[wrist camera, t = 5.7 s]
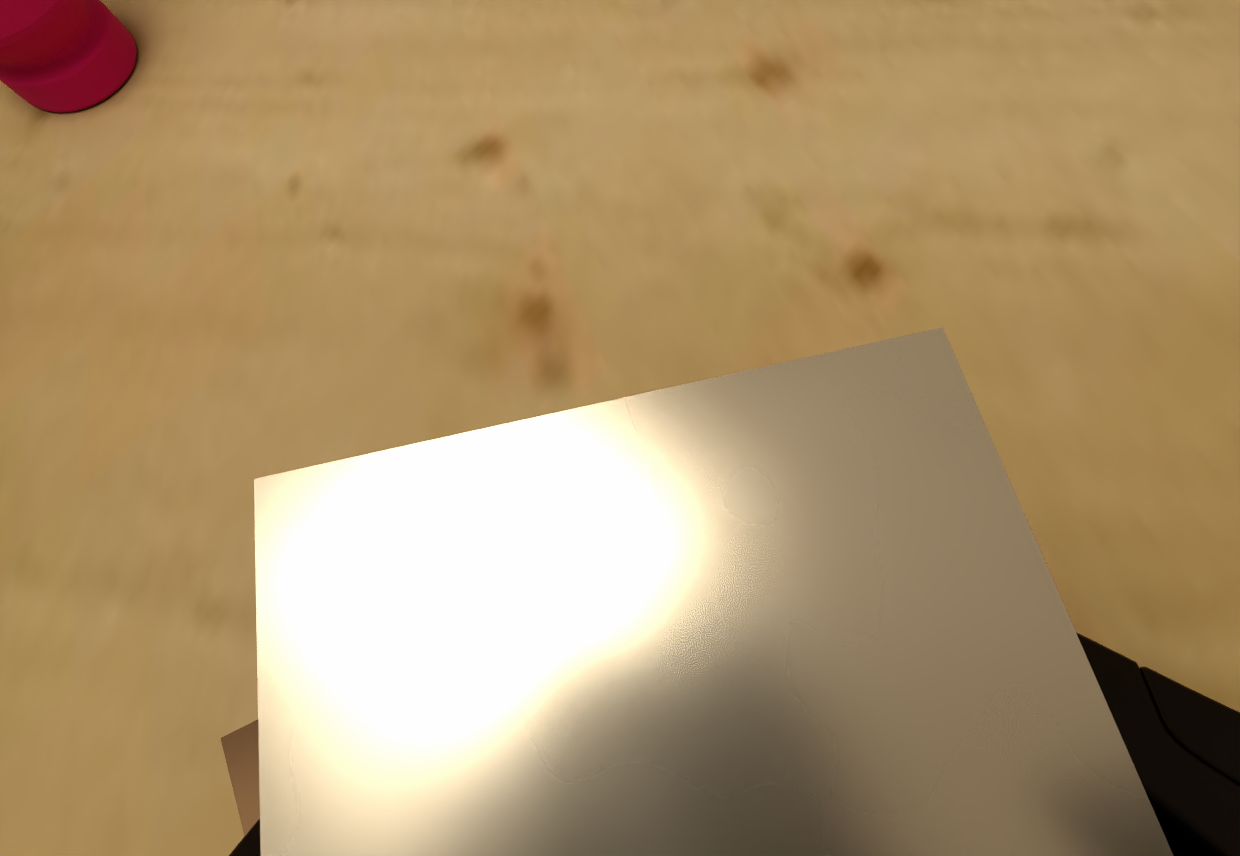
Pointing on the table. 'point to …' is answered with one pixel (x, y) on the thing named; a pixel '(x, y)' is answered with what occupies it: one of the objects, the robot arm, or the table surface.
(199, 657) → the table surface
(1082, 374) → the table surface
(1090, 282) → the table surface
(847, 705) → the block
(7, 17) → the pepper mill
